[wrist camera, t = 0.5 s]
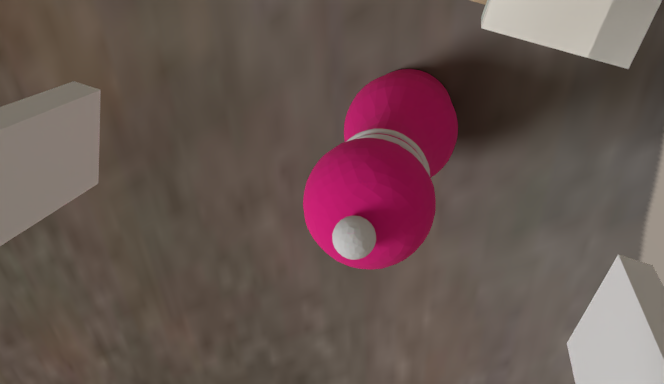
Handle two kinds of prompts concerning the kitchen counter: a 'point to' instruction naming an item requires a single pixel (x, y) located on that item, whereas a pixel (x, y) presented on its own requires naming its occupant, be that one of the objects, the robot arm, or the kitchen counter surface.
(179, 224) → the kitchen counter surface
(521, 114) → the kitchen counter surface
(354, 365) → the kitchen counter surface
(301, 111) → the kitchen counter surface
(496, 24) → the awning
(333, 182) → the pepper mill
